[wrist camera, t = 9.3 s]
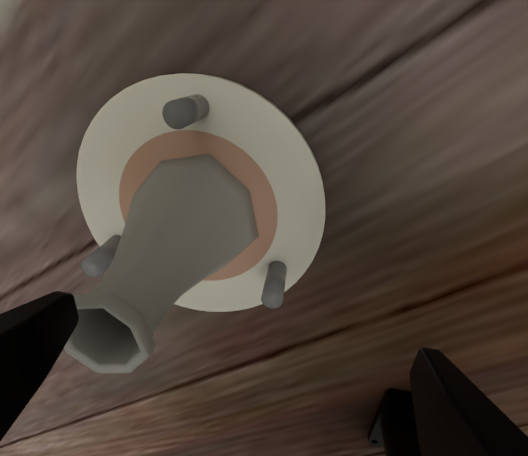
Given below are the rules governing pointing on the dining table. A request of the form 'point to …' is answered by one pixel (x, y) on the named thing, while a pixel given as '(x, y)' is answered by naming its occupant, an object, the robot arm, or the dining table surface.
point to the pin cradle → (224, 151)
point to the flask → (161, 258)
